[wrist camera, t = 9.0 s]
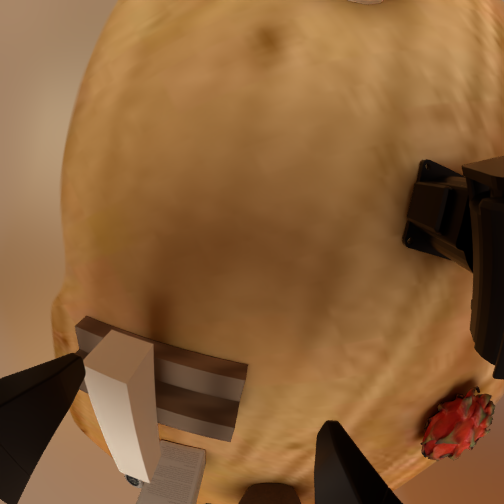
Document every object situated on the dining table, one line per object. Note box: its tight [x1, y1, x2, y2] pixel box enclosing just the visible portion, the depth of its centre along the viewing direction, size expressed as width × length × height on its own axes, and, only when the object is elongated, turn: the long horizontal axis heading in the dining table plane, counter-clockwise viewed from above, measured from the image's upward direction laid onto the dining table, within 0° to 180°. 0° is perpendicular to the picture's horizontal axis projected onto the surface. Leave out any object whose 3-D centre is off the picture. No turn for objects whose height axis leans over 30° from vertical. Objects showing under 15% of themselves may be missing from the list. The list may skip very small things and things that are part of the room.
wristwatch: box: [125, 474, 144, 488], centre depth 29 cm, size 4×6×5 cm, turn 10°
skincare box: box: [136, 440, 206, 504], centre depth 22 cm, size 6×4×12 cm
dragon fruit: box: [421, 387, 495, 461], centre depth 19 cm, size 8×8×12 cm
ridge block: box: [75, 316, 248, 442], centre depth 21 cm, size 16×8×5 cm, turn 79°
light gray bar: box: [83, 330, 161, 483], centre depth 16 cm, size 3×16×4 cm, turn 169°
